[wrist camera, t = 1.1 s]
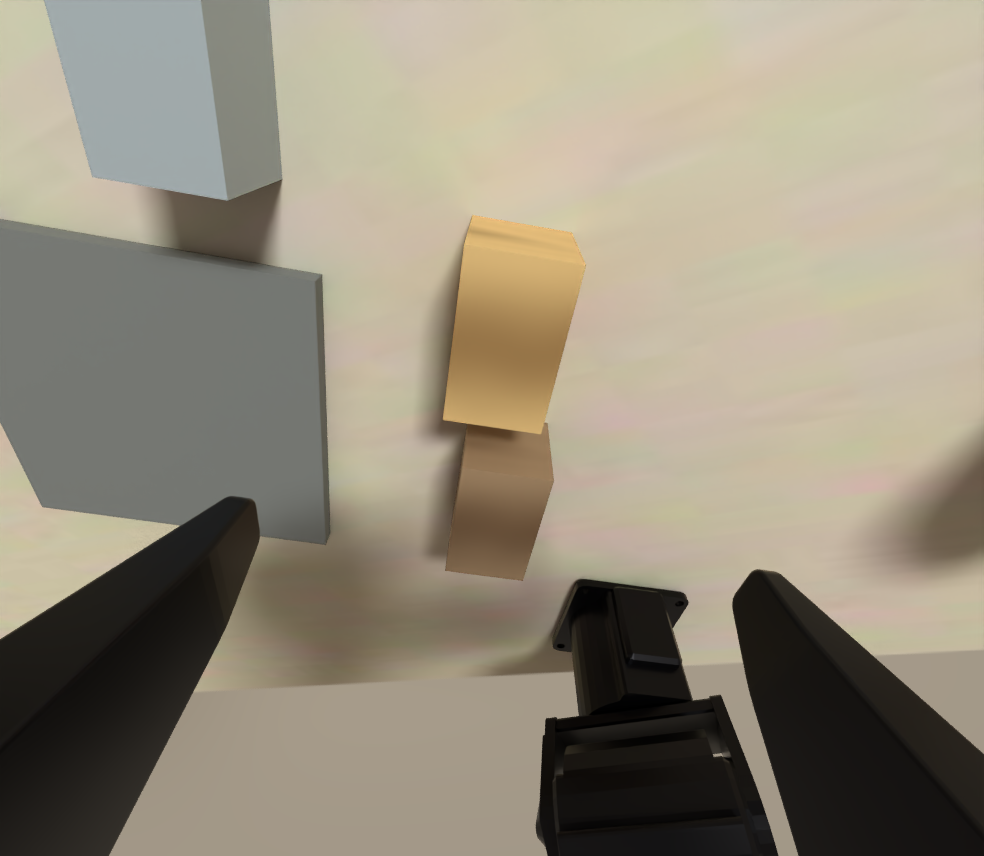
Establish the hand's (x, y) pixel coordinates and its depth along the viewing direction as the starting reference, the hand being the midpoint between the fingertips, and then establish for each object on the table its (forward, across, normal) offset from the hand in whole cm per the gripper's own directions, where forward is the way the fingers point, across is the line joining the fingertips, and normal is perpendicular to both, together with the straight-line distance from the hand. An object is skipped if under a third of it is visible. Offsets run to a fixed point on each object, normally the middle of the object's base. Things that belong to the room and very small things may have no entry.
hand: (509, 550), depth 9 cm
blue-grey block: (+12, +10, -6) cm, 17 cm away
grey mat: (+12, +14, +7) cm, 20 cm away
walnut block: (+12, -1, +8) cm, 15 cm away
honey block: (+12, 0, 0) cm, 12 cm away
